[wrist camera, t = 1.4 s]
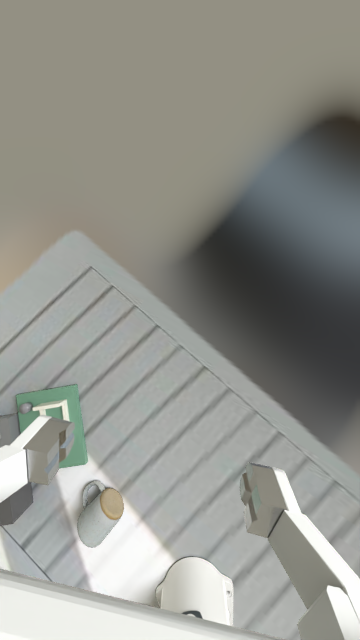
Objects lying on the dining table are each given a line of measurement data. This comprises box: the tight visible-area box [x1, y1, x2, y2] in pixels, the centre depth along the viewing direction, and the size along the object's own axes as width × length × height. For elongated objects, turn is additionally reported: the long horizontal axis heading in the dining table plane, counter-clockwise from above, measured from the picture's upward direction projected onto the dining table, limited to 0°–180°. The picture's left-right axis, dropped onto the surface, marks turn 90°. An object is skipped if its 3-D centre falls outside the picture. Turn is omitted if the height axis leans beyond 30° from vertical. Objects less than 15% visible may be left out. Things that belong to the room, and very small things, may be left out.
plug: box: [0, 481, 33, 526], centre depth 50 cm, size 7×4×6 cm, turn 10°
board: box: [16, 384, 88, 468], centre depth 51 cm, size 20×16×4 cm
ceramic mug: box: [77, 480, 124, 548], centre depth 48 cm, size 11×8×8 cm
